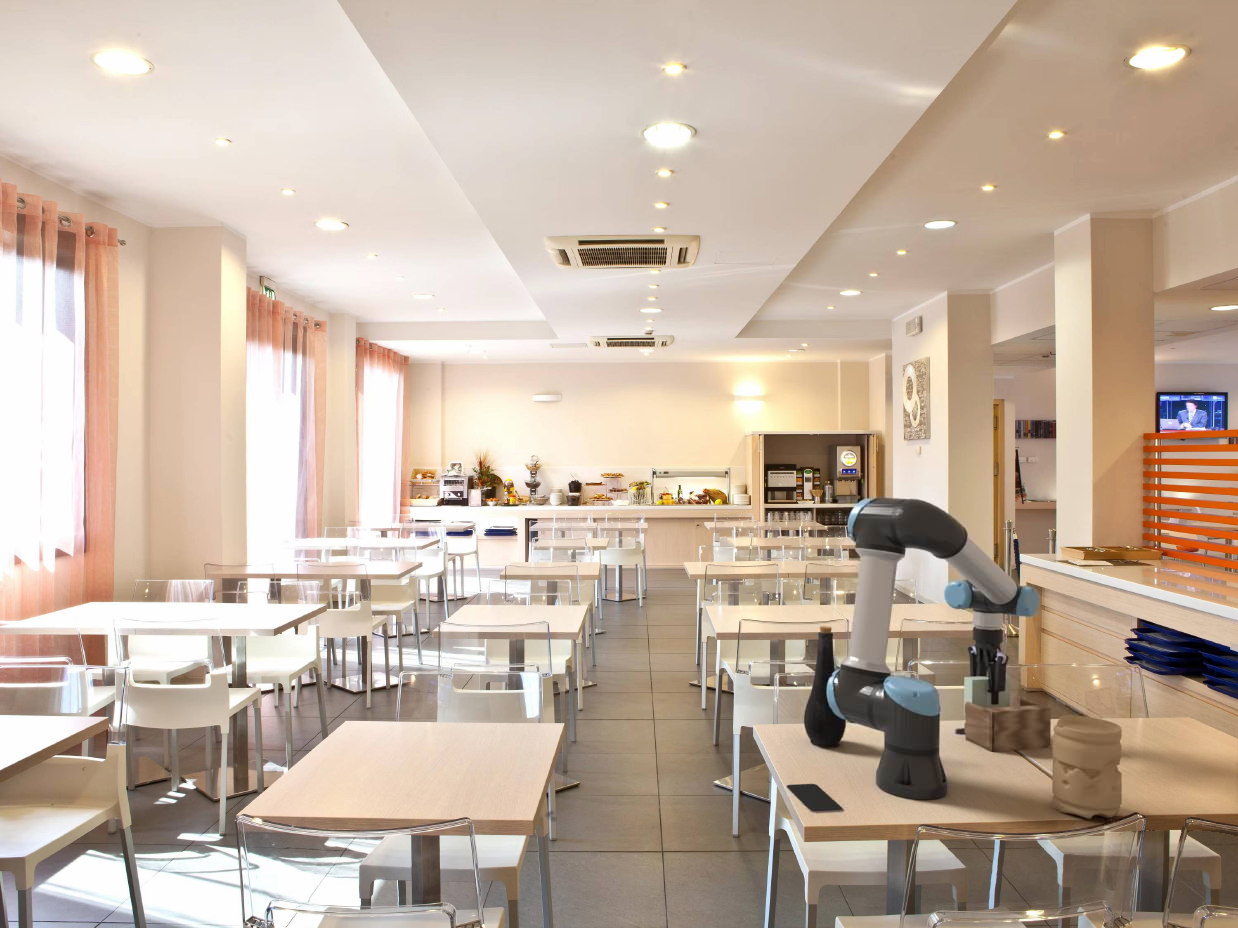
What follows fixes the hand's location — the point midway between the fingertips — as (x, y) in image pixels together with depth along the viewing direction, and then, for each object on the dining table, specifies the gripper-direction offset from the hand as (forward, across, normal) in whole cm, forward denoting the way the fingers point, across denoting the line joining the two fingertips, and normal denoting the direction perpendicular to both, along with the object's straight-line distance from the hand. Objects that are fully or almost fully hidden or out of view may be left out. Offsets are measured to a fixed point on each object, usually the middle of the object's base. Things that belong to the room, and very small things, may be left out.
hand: (987, 713), depth 223 cm
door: (0, 0, 0) cm, 0 cm away
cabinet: (+6, -5, 0) cm, 7 cm away
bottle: (+6, +2, +48) cm, 48 cm away
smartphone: (+6, -31, +68) cm, 75 cm away
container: (+6, -49, +16) cm, 52 cm away
